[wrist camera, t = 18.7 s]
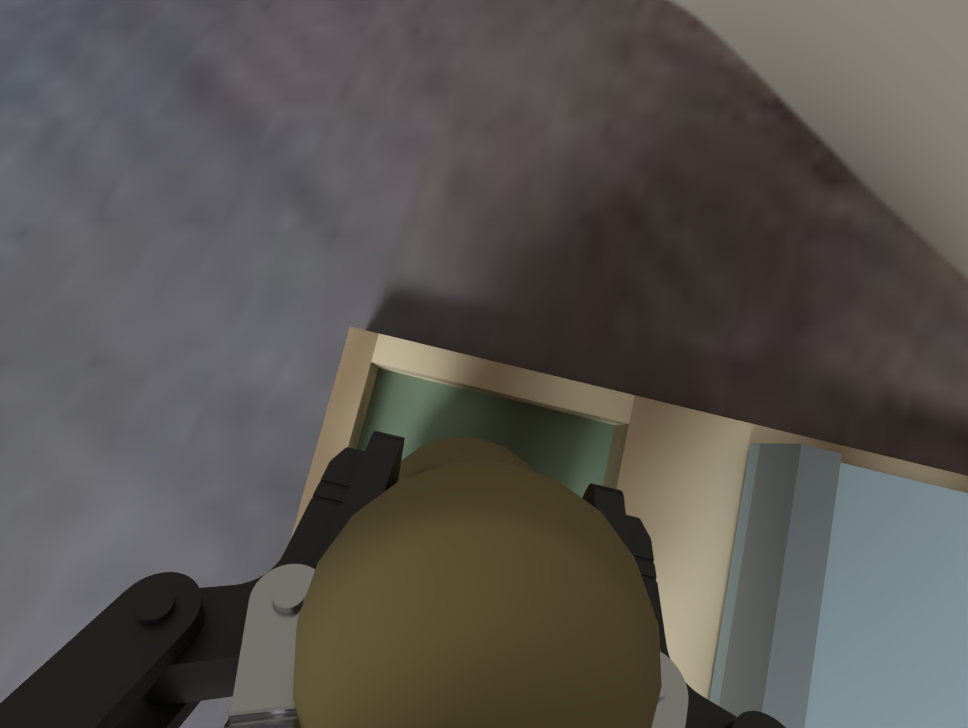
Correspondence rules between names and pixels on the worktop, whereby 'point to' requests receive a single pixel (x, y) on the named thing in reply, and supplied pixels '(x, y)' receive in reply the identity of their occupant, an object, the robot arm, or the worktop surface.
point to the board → (584, 459)
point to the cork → (476, 606)
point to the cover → (844, 597)
